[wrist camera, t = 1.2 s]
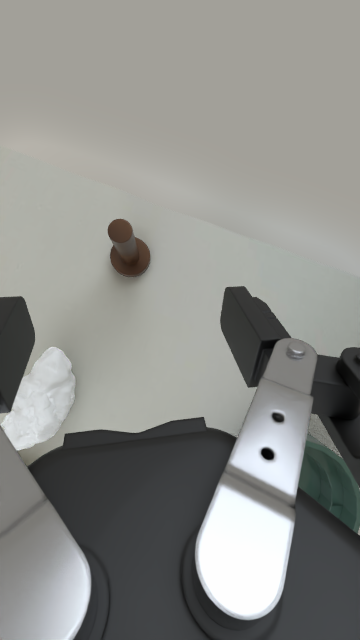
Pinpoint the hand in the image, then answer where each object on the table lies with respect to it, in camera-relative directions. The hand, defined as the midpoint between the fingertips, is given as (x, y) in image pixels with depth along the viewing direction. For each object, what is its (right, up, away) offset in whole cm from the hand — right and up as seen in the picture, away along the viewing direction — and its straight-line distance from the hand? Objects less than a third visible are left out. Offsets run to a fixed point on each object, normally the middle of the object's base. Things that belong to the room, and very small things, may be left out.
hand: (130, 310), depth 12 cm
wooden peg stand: (-4, +7, +24) cm, 26 cm away
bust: (-13, -9, +24) cm, 29 cm away
